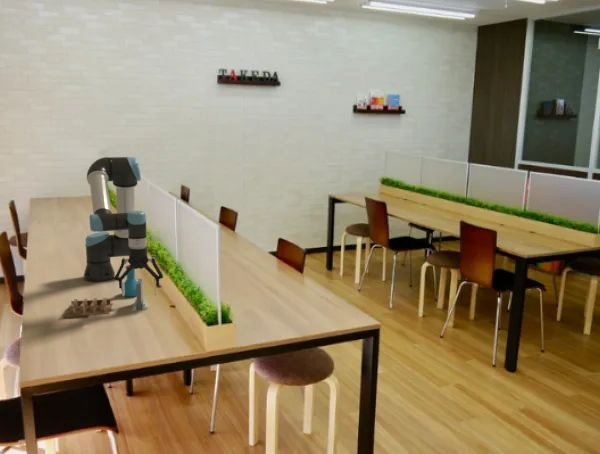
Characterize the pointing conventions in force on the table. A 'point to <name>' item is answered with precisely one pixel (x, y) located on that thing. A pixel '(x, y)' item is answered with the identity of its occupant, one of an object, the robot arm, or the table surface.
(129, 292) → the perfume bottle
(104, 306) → the rack
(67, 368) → the table surface
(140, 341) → the table surface
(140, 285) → the thick grey slab
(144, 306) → the stand
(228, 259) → the table surface
